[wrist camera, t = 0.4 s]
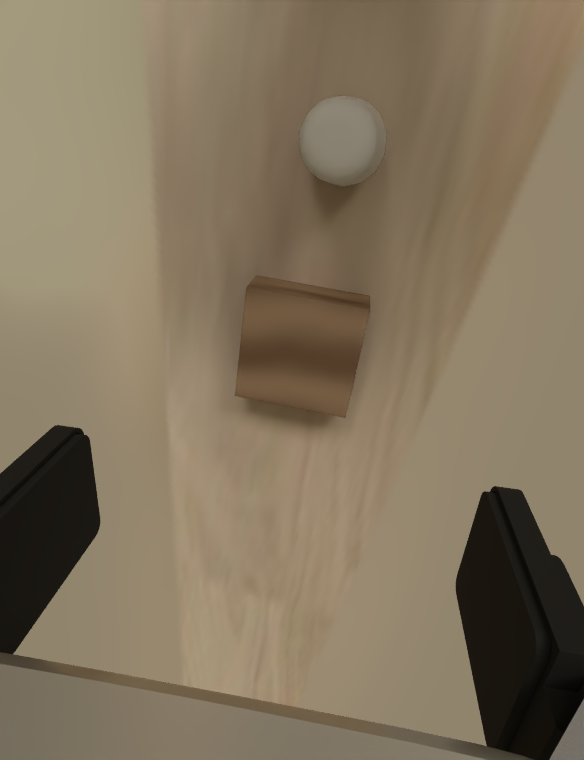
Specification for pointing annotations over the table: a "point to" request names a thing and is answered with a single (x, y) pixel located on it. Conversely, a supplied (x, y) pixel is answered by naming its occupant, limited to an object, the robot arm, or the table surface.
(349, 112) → the salt shaker
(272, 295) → the block
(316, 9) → the table surface
